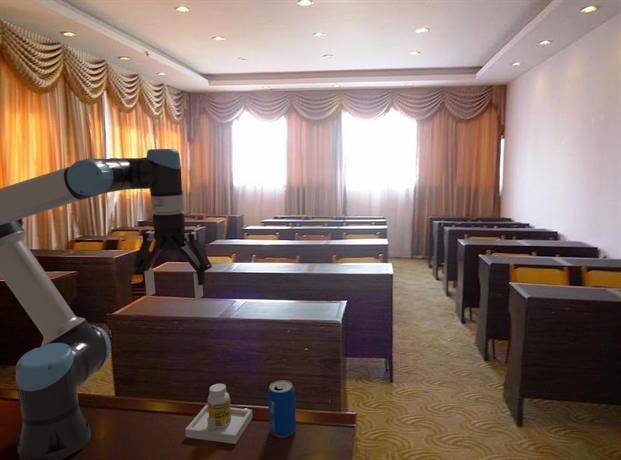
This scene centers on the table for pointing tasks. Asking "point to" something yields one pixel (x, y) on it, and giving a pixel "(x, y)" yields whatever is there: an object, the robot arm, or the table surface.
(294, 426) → the beverage can
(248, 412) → the tray
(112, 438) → the table surface
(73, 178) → the robot arm
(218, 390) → the supplement bottle
